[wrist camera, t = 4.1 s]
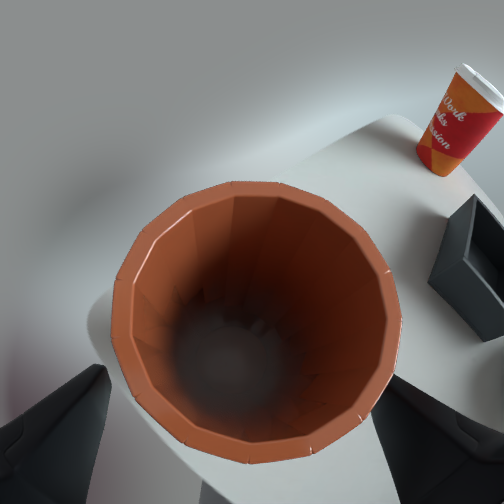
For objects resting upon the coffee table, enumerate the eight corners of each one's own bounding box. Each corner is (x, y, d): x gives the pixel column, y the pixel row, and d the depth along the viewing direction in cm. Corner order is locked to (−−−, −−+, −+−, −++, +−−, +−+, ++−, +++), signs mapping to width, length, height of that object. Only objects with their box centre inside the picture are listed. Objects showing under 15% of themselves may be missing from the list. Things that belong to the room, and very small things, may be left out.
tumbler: (235, 414, 15) (285, 511, 3) (175, 361, 16) (60, 305, 4) (286, 356, 17) (433, 289, 5) (228, 307, 18) (251, 145, 6)
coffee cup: (408, 131, 32) (452, 53, 19) (450, 158, 31) (499, 90, 18) (410, 164, 28) (469, 72, 15) (457, 194, 28) (521, 119, 14)
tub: (484, 342, 19) (518, 329, 14) (427, 282, 21) (462, 259, 17) (498, 272, 23) (524, 255, 19) (448, 217, 25) (474, 193, 21)
